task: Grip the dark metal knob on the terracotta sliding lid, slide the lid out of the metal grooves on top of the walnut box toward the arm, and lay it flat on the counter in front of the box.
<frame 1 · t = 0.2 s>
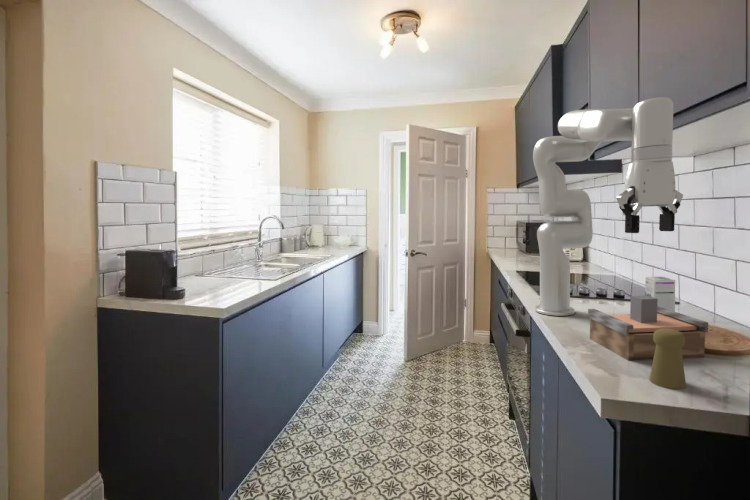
hand: (649, 232, 89), 30 cm above the worktop, tool pointing down, fingers open, 9 cm apart
lid: (643, 324, 98), point 6 cm above the worktop, touching box
syrup box: (658, 326, 116), on the worktop
box: (642, 347, 99), on the worktop
cork: (667, 383, 79), on the worktop
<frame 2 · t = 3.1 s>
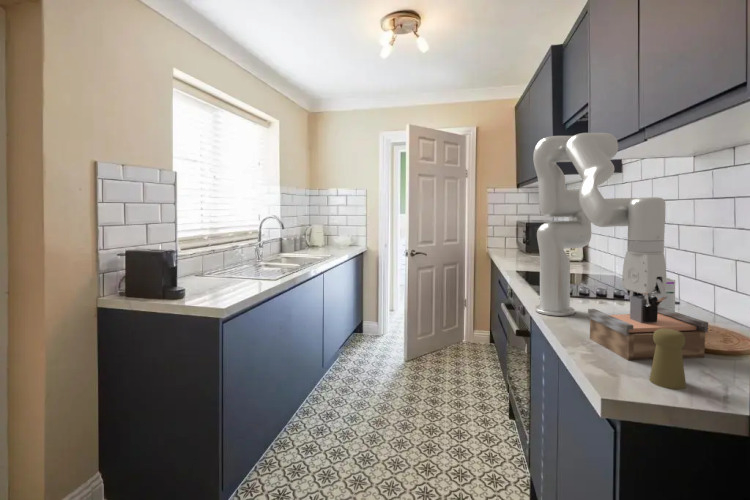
hand: (643, 318, 98), 8 cm above the worktop, tool pointing down, fingers closed on lid, 4 cm apart
lid: (643, 324, 98), point 6 cm above the worktop, touching box, gripper
everything else where it was.
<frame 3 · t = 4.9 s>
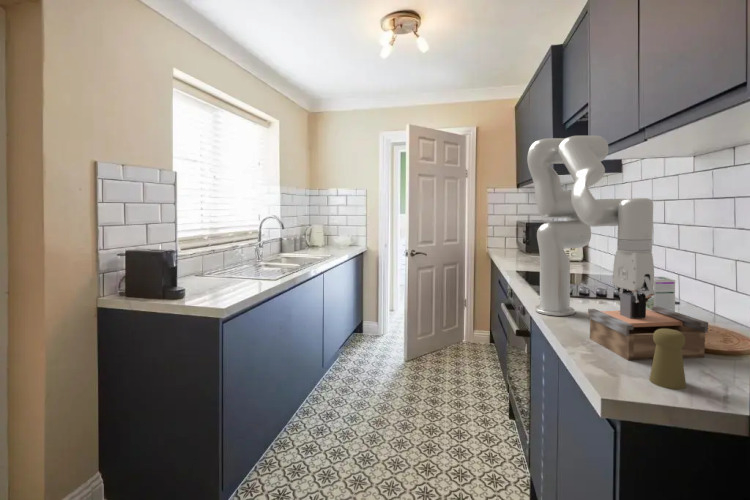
hand: (632, 314, 102), 8 cm above the worktop, tool pointing down, fingers closed on lid, 4 cm apart
lid: (632, 320, 102), point 6 cm above the worktop, touching gripper
everything else where it was.
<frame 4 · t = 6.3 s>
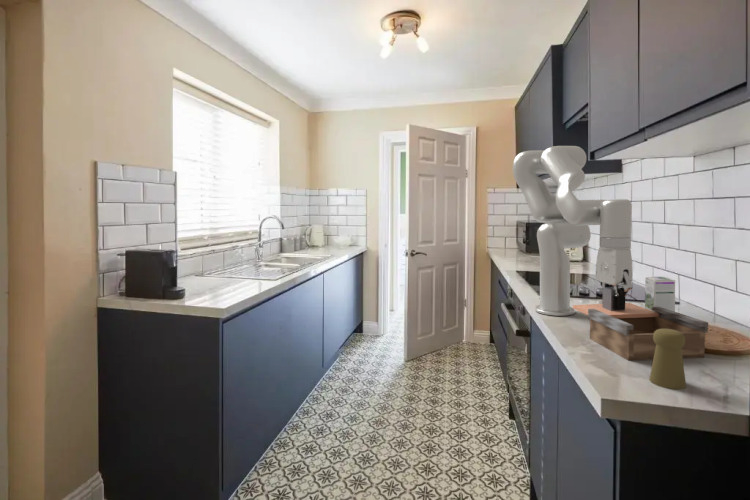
hand: (613, 306, 110), 8 cm above the worktop, tool pointing down, fingers closed on lid, 4 cm apart
lid: (613, 312, 110), point 6 cm above the worktop, touching gripper
everything else where it was.
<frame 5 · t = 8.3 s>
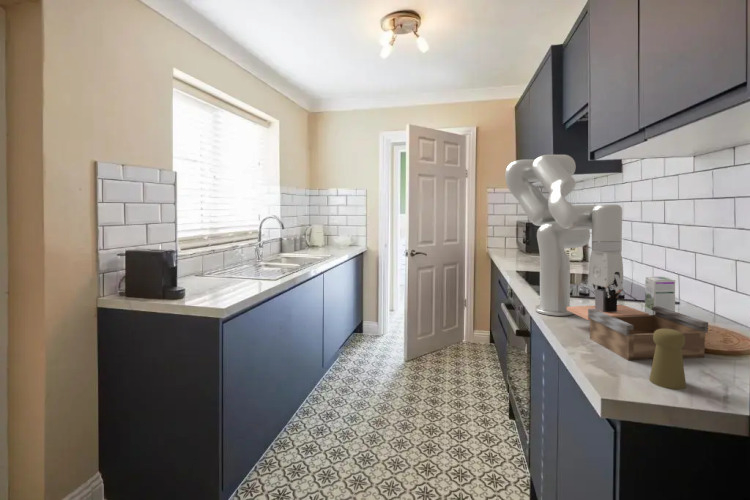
hand: (605, 308, 114), 6 cm above the worktop, tool pointing down, fingers closed on lid, 4 cm apart
lid: (605, 313, 114), point 5 cm above the worktop, touching gripper
everything else where it was.
when the fingers open (3 cm above the worktop, at t = 9.7 s): lid drops 2 cm, on the worktop.
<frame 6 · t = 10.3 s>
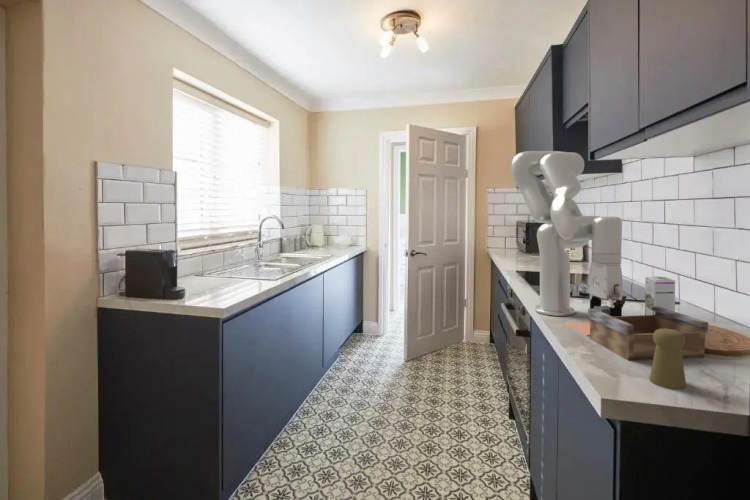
hand: (604, 316, 114), 4 cm above the worktop, tool pointing down, fingers open, 9 cm apart
lid: (604, 330, 115), on the worktop
everything else where it was.
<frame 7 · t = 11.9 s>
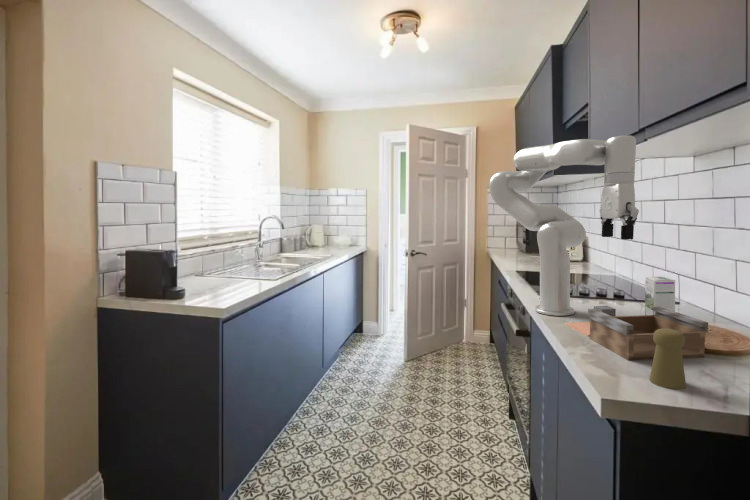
hand: (616, 238, 115), 27 cm above the worktop, tool pointing down, fingers open, 9 cm apart
nothing on the worktop moved.
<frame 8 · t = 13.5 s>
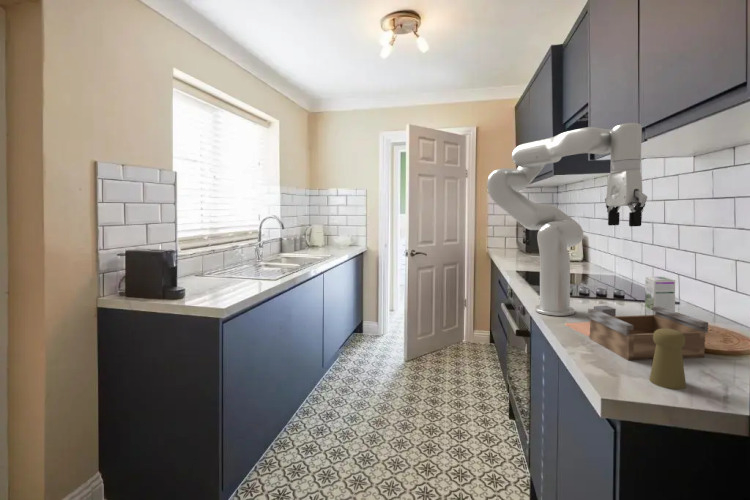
hand: (623, 225, 115), 30 cm above the worktop, tool pointing down, fingers open, 9 cm apart
nothing on the worktop moved.
at the end: lid inside the target area (0.2 cm from its centre), on the worktop; lid tilted 0°; lid touching worktop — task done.
